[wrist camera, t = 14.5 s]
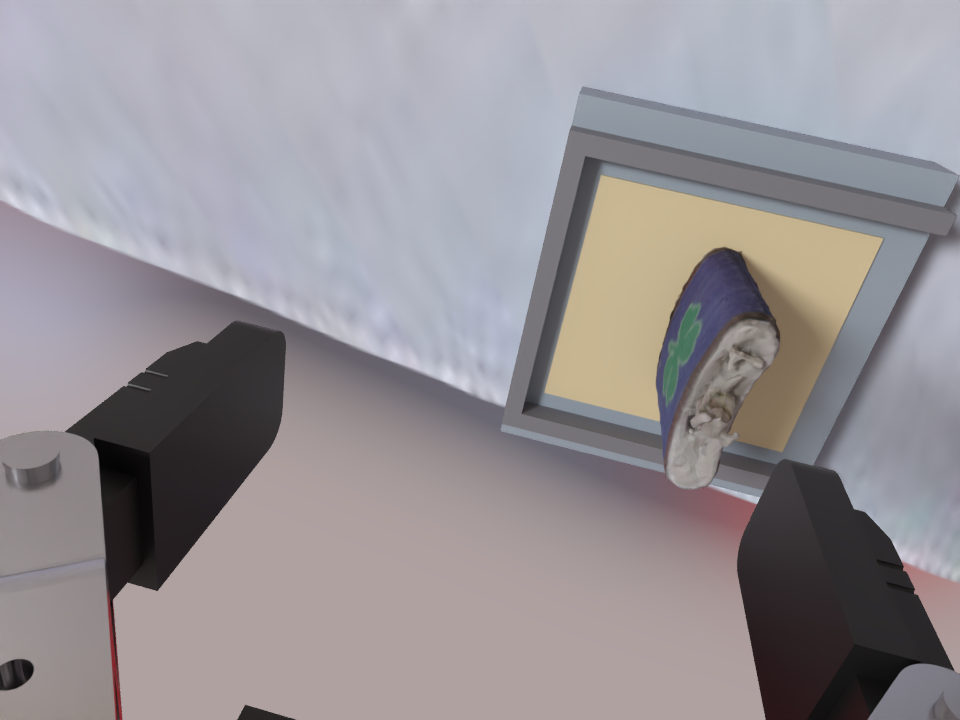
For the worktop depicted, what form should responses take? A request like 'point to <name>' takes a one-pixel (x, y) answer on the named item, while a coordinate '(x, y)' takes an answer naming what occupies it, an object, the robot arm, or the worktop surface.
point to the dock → (682, 244)
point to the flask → (710, 364)
